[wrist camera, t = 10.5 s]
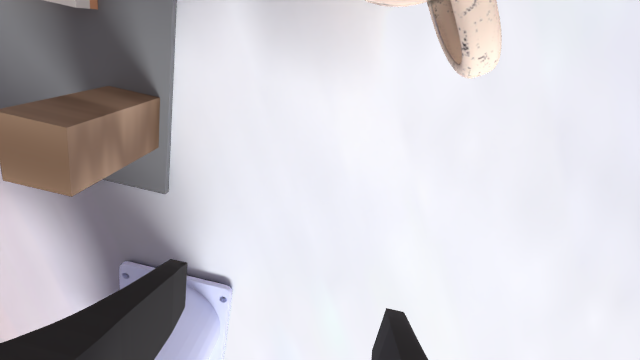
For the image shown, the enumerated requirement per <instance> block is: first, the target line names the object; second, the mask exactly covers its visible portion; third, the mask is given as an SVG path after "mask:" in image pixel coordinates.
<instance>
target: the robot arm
mask: <svg viewBox="0 0 640 360" xmlns="http://www.w3.org/2000/svg"><path fill="white" fill-rule="evenodd" d="M126 273H127V274H128V275H127V274H126ZM119 289H120V290H119V291H117V292H115V293H114V294H112V295H110V296H108V297H106V298H104V299H102V300H101V301H99V302H97V303H95V304H93V305H91V306H89V307H87V308H85V309H83V310H81V311H79V312H77V313H75V314H73V315H71V316H68V317H66V318H64V319H62V320H60V321H57V322H55V323H53V324H50V325H48V326H45V327H43V328H40V329H38V330H35V331H32V332H30V333H27V334H25V335H22V336H19V337H17V338H14V339H11V340H9V341H6V342H3V343H0V360H223V357H224V350H225V343H226V335H227V328H228V321H229V314H230V306H231V299H232V289H231V288H230V287H229V286H227V285H224V284H220V283H216V282H212V281H208V280H203V279H199V278H195V277H191V276H187V263H186V262H182V261H177V260H173V259H170V260H169V261H167V262H165V263H164V264H162V265H160V266H159V267H157V268H154V267H149V266H145V265H141V264H137V263H133V262H129V261H125V262H123V263H122V264H121V265H120V267H119ZM222 297H225V298H226V299H224V298H222ZM372 360H428V358H427V357H426V355H425V353H424V351H423V349H422V347H421V345H420V344H419V342H418V340H417V338H416V336H415V334H414V332H413V330H412V328H411V326H410V323H409V321H408V319H407V317H406V315H405V314H404V312H401V311H396V310H392V309H387V308H386V311H385V314H384V317H383V320H382V323H381V326H380V329H379V332H378V335H377V338H376V341H375V344H374V347H373V350H372Z"/></svg>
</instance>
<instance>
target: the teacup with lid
mask: <svg viewBox="0 0 640 360" xmlns="http://www.w3.org/2000/svg"><path fill="white" fill-rule="evenodd" d="M365 1H368V2H370V3H374V4H377V5H382V6H389V7H406V6H412V5H417V4H421V3H424V2H427V4H428V7H429V11H430V14H431V18H432V21H433V24H434V28H435V31H436V34H437V37H438V39H439V42H440V45H441V47H442V49H443V51H444V54H445V56H446V57H447V59H448V61H449V63H450V64H451V66H452V67H453V68H454V70H455V71H456V72H457V73H458V74H459V75H461V76H462V77H464V78H475V77H478V76H481V75H483V74H486V73H488V72H490V71H492V70H493V69H494V68H495V67H496V65H497V63H498V61H499V58H500V53H501V25H500V18H499V12H498V7H497V2H496V0H365Z"/></svg>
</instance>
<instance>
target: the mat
mask: <svg viewBox="0 0 640 360" xmlns="http://www.w3.org/2000/svg"><path fill="white" fill-rule="evenodd" d="M176 3H177V0H98V9H87V8H75V7H71V6H66V5H62V4H58V3H53V2H49V1H44V0H0V109H1V108H6V107H11V106H16V105H20V104H25V103H30V102H34V101H39V100H44V99H49V98H53V97H58V96H63V95H67V94H72V93H77V92H82V91H86V90H91V89H96V88H101V87H105V86H112V87H116V88H121V89H125V90H129V91H134V92H138V93H142V94H147V95H151V96H155V97H160V118H159V148H157V149H155V150H153V151H152V152H150V153H148V154H146V155H144V156H143V157H141V158H139V159H137V160H136V161H134V162H132V163H130V164H129V165H127V166H125V167H123V168H121V169H120V170H118V171H116V172H114V173H113V174H111V175H109V176H107V177H106V178H104V179H103V180H107V181H111V182H116V183H120V184H124V185H128V186H133V187H137V188H141V189H145V190H150V191H154V192H158V193H162V194H166V193H167V192H168V189H169V166H170V142H171V119H172V96H173V73H174V49H175V26H176Z"/></svg>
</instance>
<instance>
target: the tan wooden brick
mask: <svg viewBox="0 0 640 360" xmlns="http://www.w3.org/2000/svg"><path fill="white" fill-rule="evenodd" d="M159 118H160V97H155V96H151V95H147V94H142V93H138V92H134V91H129V90H125V89H121V88H116V87H112V86H105V87H101V88H96V89H91V90H86V91H82V92H77V93H72V94H67V95H63V96H58V97H53V98H49V99H44V100H39V101H34V102H30V103H25V104H20V105H16V106H11V107H6V108H1V109H0V165H1V171H2V178H3V180H4V181H8V182H12V183H16V184H21V185H25V186H29V187H33V188H37V189H42V190H46V191H50V192H54V193H58V194H63V195H67V196H71V197H72V196H74V195H76V194H77V193H79V192H81V191H83V190H84V189H86V188H88V187H90V186H91V185H93V184H95V183H97V182H99V181H100V180H102V179H104V178H106V177H107V176H109V175H111V174H113V173H114V172H116V171H118V170H120V169H121V168H123V167H125V166H127V165H129V164H130V163H132V162H134V161H136V160H137V159H139V158H141V157H143V156H144V155H146V154H148V153H150V152H152V151H153V150H155V149H157V148H159Z"/></svg>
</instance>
